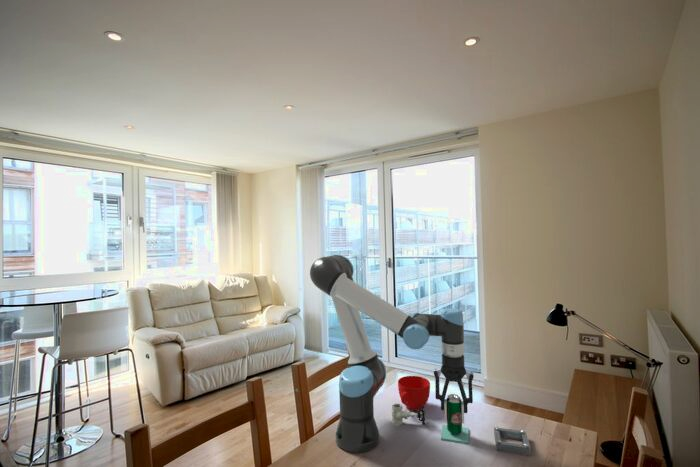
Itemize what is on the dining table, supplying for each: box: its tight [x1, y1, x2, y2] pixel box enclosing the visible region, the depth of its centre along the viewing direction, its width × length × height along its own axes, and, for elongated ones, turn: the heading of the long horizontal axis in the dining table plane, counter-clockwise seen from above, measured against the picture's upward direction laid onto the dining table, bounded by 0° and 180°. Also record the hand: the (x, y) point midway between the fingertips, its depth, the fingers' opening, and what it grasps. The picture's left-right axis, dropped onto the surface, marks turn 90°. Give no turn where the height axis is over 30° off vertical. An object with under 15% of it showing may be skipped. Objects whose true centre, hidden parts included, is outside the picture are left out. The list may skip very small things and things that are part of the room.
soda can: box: [446, 393, 463, 434], centre depth 125 cm, size 5×5×12 cm
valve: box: [391, 403, 426, 426], centre depth 133 cm, size 7×7×12 cm
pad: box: [440, 424, 470, 445], centre depth 125 cm, size 9×9×1 cm
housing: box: [493, 426, 532, 457], centre depth 119 cm, size 10×10×3 cm
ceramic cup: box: [397, 375, 431, 411], centre depth 145 cm, size 13×17×10 cm
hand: (454, 420), depth 125 cm, fingers closed on soda can, 5 cm apart
